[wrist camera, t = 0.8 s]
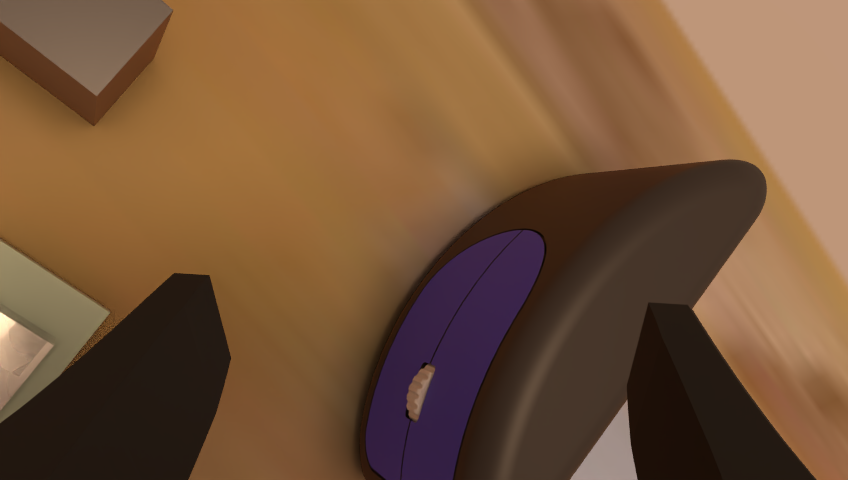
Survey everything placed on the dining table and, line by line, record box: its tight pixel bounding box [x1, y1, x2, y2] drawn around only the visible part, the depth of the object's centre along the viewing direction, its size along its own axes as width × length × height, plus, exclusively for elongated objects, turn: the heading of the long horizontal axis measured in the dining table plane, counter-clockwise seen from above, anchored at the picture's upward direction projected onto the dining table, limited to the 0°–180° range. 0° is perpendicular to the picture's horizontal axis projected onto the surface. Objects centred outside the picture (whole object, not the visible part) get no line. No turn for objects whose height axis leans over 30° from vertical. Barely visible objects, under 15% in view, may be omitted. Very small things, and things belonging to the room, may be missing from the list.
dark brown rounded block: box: [360, 160, 767, 480], centre depth 25 cm, size 16×5×9 cm, turn 135°
